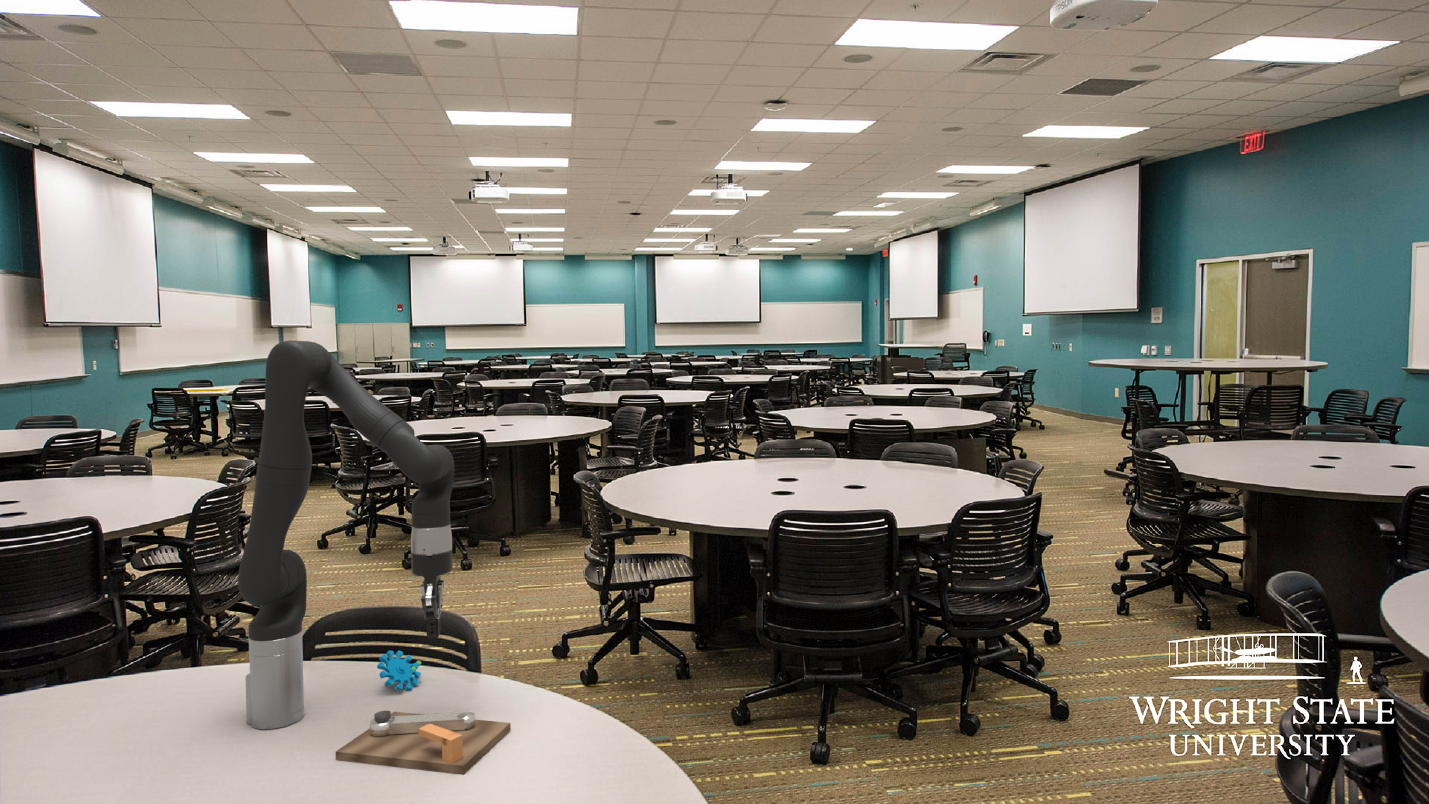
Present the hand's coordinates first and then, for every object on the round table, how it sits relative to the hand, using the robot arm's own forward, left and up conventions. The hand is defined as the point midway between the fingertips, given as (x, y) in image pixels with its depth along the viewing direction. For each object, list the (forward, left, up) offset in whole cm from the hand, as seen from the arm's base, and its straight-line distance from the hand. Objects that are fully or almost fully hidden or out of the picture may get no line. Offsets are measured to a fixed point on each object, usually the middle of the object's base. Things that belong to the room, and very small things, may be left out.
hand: (433, 636), depth 155 cm
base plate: (+4, -9, -17) cm, 20 cm away
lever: (+1, -6, -15) cm, 17 cm away
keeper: (+10, -14, -16) cm, 23 cm away
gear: (-18, +15, -17) cm, 29 cm away
